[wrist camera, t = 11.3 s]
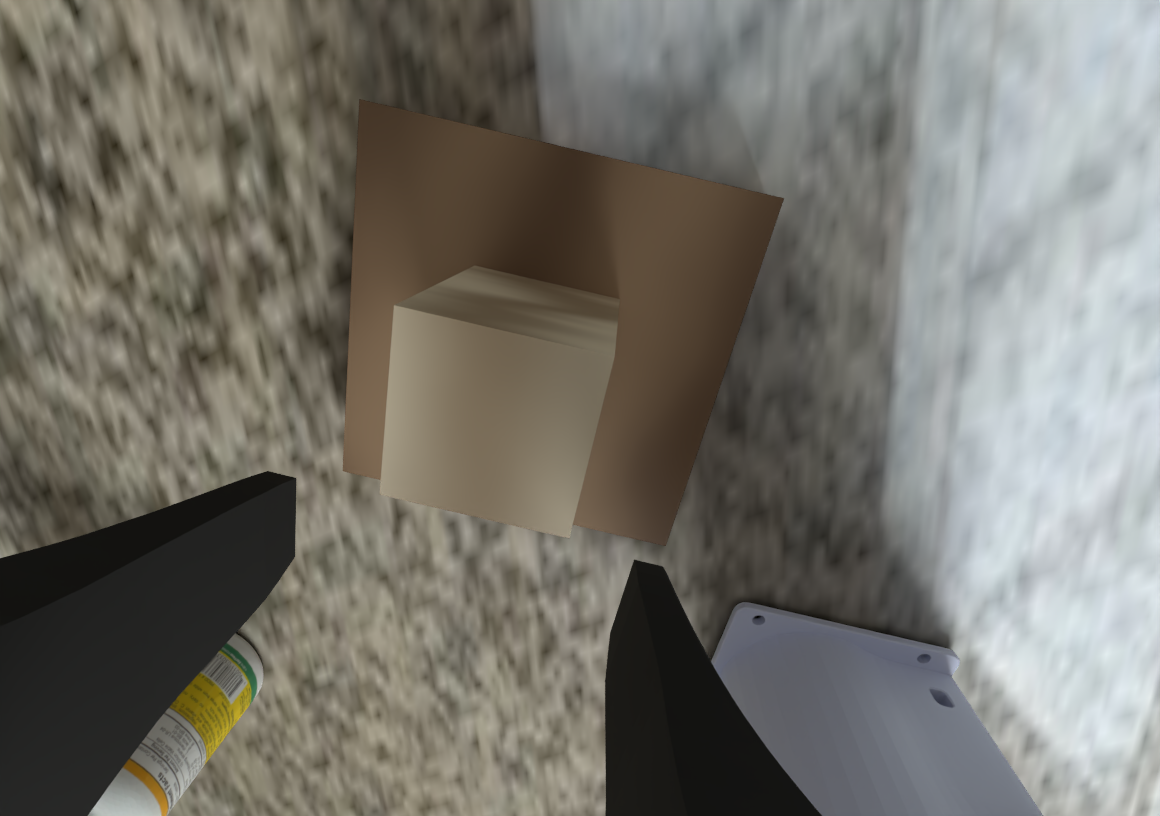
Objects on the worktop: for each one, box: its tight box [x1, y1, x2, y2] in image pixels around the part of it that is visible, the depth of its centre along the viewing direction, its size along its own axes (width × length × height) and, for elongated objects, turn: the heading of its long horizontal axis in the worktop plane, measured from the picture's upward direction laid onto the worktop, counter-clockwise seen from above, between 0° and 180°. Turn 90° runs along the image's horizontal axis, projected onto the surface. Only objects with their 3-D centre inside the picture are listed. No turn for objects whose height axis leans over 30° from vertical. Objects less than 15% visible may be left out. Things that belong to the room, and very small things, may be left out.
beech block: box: [380, 266, 620, 538], centre depth 14 cm, size 4×4×6 cm
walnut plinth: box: [343, 99, 784, 546], centre depth 18 cm, size 12×12×2 cm
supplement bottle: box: [88, 633, 264, 816], centre depth 22 cm, size 5×5×10 cm
